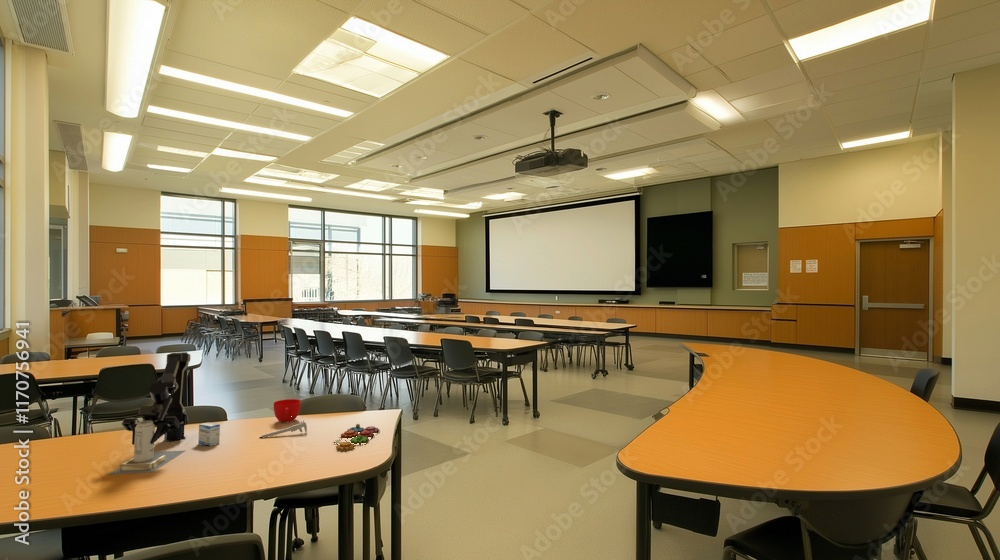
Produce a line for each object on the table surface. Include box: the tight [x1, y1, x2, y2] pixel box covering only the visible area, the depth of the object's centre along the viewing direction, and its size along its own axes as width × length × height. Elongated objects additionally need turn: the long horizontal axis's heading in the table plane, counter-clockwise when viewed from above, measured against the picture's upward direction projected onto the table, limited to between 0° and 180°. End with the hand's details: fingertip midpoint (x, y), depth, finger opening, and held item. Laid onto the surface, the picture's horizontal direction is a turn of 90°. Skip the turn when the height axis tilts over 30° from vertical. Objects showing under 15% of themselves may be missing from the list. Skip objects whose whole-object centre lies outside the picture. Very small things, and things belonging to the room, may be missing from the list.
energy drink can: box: [133, 420, 156, 464], centre depth 178 cm, size 6×6×15 cm
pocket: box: [119, 455, 166, 471], centre depth 178 cm, size 9×11×2 cm
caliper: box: [258, 420, 308, 439], centre depth 217 cm, size 20×1×6 cm, turn 115°
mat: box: [107, 450, 187, 476], centre depth 182 cm, size 24×15×1 cm, turn 9°
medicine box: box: [198, 422, 221, 447], centre depth 204 cm, size 8×4×9 cm, turn 68°
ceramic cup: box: [273, 398, 302, 423], centre depth 239 cm, size 13×17×10 cm
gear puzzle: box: [335, 423, 380, 451], centre depth 210 cm, size 31×16×4 cm, turn 177°
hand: (142, 443), depth 177 cm, fingers closed on energy drink can, 6 cm apart
